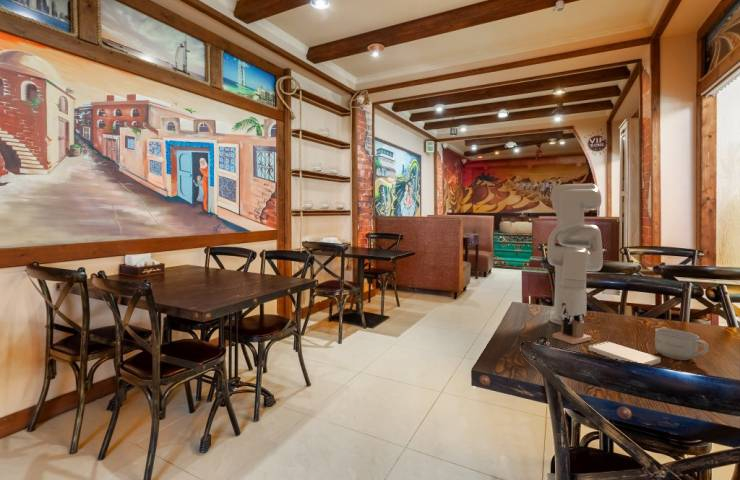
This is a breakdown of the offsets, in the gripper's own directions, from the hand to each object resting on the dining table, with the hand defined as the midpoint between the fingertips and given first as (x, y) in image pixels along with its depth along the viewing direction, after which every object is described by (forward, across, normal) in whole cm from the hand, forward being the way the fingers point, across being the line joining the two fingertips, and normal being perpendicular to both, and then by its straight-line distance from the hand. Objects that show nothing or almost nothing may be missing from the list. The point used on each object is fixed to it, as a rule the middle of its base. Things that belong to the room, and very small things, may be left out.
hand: (572, 332), depth 132 cm
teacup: (+3, -14, +27) cm, 30 cm away
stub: (+2, 0, 0) cm, 2 cm away
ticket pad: (+2, 0, +18) cm, 18 cm away
